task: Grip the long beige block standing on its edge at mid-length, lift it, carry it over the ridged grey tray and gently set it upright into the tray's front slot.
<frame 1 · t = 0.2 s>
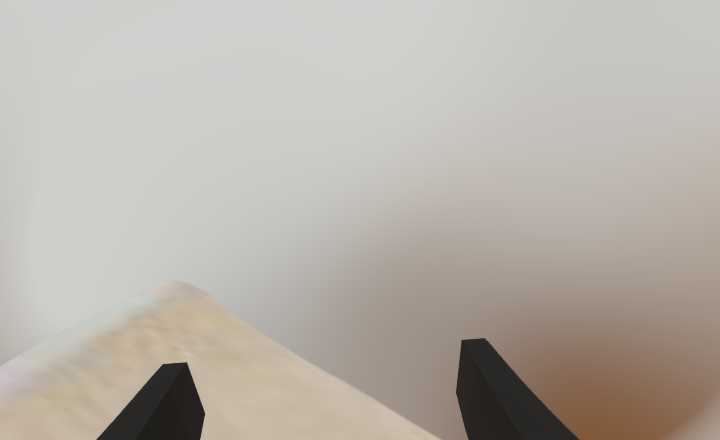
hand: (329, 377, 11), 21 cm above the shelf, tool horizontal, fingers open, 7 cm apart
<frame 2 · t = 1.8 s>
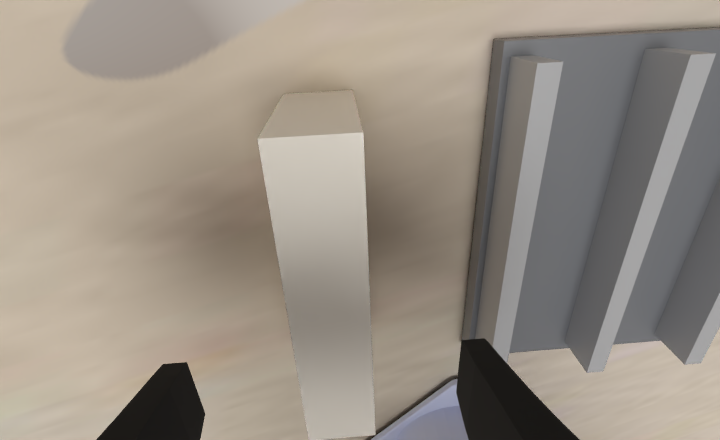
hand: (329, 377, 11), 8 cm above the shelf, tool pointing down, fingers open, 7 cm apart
long beige block: (330, 228, 18), on the shelf
ridged grey tray: (592, 212, 18), on the shelf
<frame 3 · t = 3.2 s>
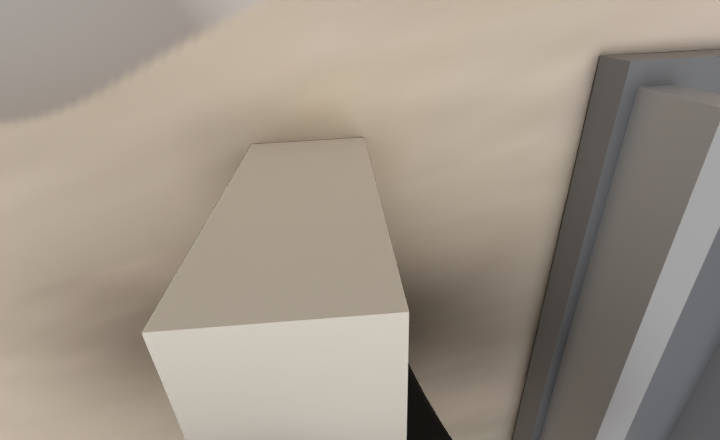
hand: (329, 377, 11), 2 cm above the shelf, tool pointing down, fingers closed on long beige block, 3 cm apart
long beige block: (329, 333, 12), on the shelf, touching gripper
ridged grey tray: (712, 303, 12), on the shelf
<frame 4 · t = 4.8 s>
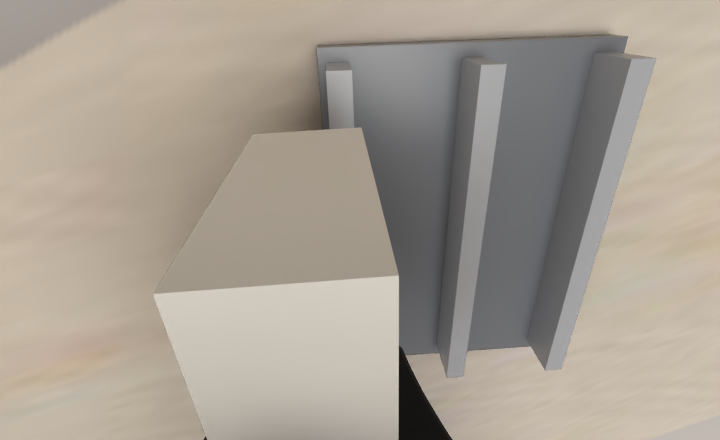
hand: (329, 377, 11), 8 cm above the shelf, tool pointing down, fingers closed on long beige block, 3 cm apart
long beige block: (328, 320, 12), point 6 cm above the shelf, touching gripper
ridged grey tray: (450, 218, 18), on the shelf
when the fingers open (4 cm above the shelf, at t = 6.5 s): long beige block stays where it is, resting on ridged grey tray.
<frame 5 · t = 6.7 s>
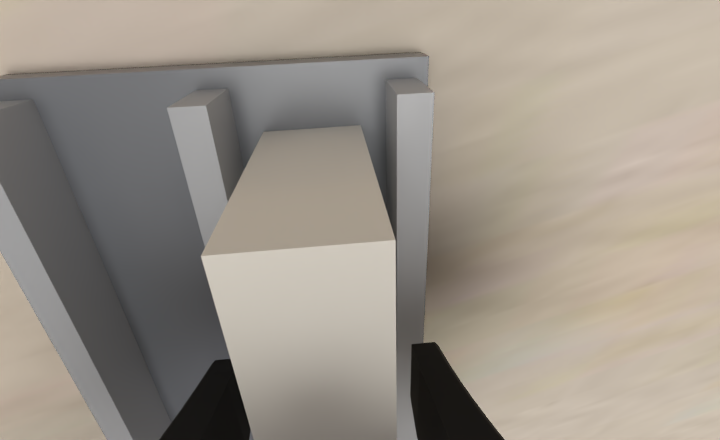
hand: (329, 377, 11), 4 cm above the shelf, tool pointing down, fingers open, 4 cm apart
long beige block: (331, 302, 13), point 1 cm above the shelf, touching ridged grey tray
ridged grey tray: (262, 286, 14), on the shelf
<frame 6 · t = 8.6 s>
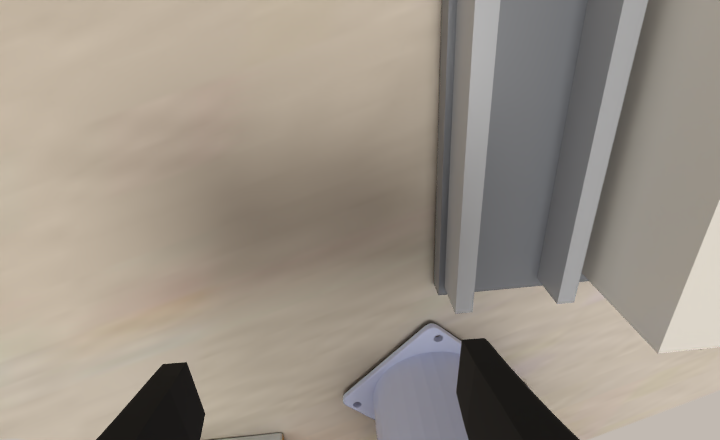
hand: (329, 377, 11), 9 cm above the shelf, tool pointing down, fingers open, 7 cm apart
long beige block: (625, 143, 17), point 1 cm above the shelf, touching ridged grey tray
ridged grey tray: (558, 138, 18), on the shelf
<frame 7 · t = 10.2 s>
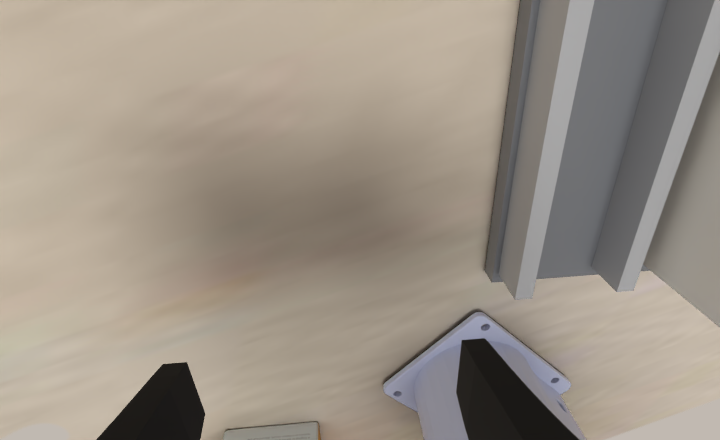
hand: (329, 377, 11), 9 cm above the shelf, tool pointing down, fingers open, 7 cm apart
long beige block: (694, 130, 17), point 1 cm above the shelf, touching ridged grey tray
ridged grey tray: (624, 124, 18), on the shelf
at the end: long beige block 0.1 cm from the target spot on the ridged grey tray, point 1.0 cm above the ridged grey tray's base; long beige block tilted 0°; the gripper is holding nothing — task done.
